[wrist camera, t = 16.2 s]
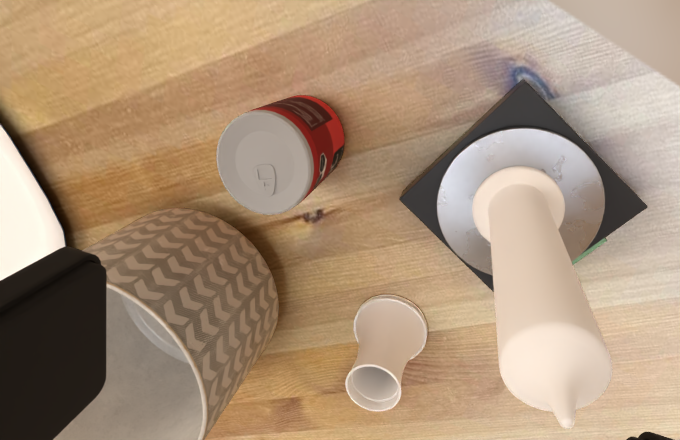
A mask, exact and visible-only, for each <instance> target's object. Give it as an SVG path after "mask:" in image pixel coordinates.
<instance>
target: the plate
mask: <svg viewBox="0 0 680 440" xmlns="http://www.w3.org/2000/svg"><path fill="white" fill-rule="evenodd" d="M63 247H67V245H66V239H65V233H64V229H63V227H62V225H61V223H60V221H59V219H58V217H57V215H56V213H55V211H54V209H53V207H52V205H51V203H50V201H49V199H48V197H47V196H46V194H45V192H44V191H43V189H42V187H41V186H40V184H39V182H38V181H37V179H36V177H35V176H34V174H33V172H32V171H31V169H30V167H29V166H28V164H27V162H26V161H25V159H24V158H23V156H22V154H21V153H20V151H19V150H18V148H17V146H16V145H15V143H14V142H13V140H12V138H11V137H10V135H9V134H8V132H7V131H6V130H5V128H4V127H3V126H2V124H1V123H0V281H1V280H3V279H4V278H6V277H8V276H10V275H12V274H14V273H16V272H17V271H19V270H21V269H23V268H25V267H27V266H28V265H30V264H32V263H34V262H36V261H38V260H40V259H41V258H43V257H45V256H47V255H49V254H51V253H53V252H54V251H56V250H58V249H60V248H63Z"/></svg>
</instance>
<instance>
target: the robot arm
mask: <svg viewBox="0 0 680 440" xmlns="http://www.w3.org/2000/svg"><path fill="white" fill-rule="evenodd" d="M106 291H107V274H106V269H105V267H104V266H102V265H101V261H100V259H99V257H98V256H96V255H94V254H91V253H88V252H85V251H82V250H79V249H75V248H72V247H63V248H60V249H58V250H56V251H54V252H53V253H51V254H49V255H47V256H45V257H43V258H41V259H40V260H38V261H36V262H34V263H32V264H30V265H28V266H27V267H25V268H23V269H21V270H19V271H17V272H16V273H14V274H12V275H10V276H8V277H6V278H4V279H3V280H1V281H0V440H53V439H54V438H55V437H56V436H57V435H58V434H59V433H60V432H61V431H62V430H63V429H64V428H65V427H66V426H67V425H68V424H69V423H70V422H71V421H73V420H74V419H75V418H76V417H77V416H78V415H79V414H80V413H81V412H82V411H83V410H84V409H85V408H86V407H87V406H88V405H89V404H90V403H91V402H92V401H93V400H94V399H95V398H96V397H97V396H98V395H99V393H100V392H101V390H102V388H103V386H104V384H105V381H106ZM627 440H673V439H670V438H667V437H664V436H661V435H658V434H654V433H651V432H644V433H642V434H641V435H640V436H639V437H638V438H636V437H629V438H628V439H627Z"/></svg>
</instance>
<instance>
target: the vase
mask: <svg viewBox="0 0 680 440" xmlns="http://www.w3.org/2000/svg"><path fill="white" fill-rule="evenodd" d="M353 329H354V334H355V338H356V340H357V342H358V343H359V350H358V355H357V359H356V361H355V364H354V366H353V367H352V369H351V371H350V372H349V374H348V375H347V378H346V390H347V393H348V395H349V396H350V398H351V399H352V400H353V401H354V402H355V403H356V404H357V405H359V406H360V407H362V408H364V409H367V410H370V411H386V410H389V409H391V408H393V407H394V406H395V405H396V404H397V403H398V401H399V400H400V397H401V380H402V374H403V371H404V368H405V365H406V363H407V362H408V360H410V359H412V358H414V357H415V356H417V355H418V354H419V353H420V352H421V351H422V349H423V348H424V346H425V343H426V339H427V331H428V328H427V322H426V319H425V317H424V315H423V313H422V312H421V310H420V309H419V308H418V307H417V306H416V305H415V304H414V303H412V302H411V301H409V300H407V299H405V298H403V297H400V296H397V295H391V294H383V295H378V296H374V297H372V298H370V299H368V300H367V301H365V302H364V303H363V304H362V305H361V307H360V308H359V310H358V312H357V314H356V316H355V319H354V325H353ZM357 336H358V337H357Z"/></svg>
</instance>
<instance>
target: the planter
mask: <svg viewBox="0 0 680 440" xmlns="http://www.w3.org/2000/svg"><path fill="white" fill-rule="evenodd" d="M82 251H85V252H88V253H91V254H94V255H96V256H98V257H99V259H100V261H101V265H102V266H104V267H105V269H106V274H107V291H106V381H105V384H104V386H103V388H102V390H101V392H100V393H99V395H98V396H97V397H96V398H95V399H94V400H93V401H92V402H91V403H90V404H89V405H88V406H87V407H86V408H85V409H84V410H83V411H82V412H81V413H80V414H79V415H78V416H77V417H76V418H75V419H74V420H73V421H71V422H70V423H69V424H68V425H67V426H66V427H65V428H64V429H63V430H62V431H61V432H60V433H59V434H58V435H57V436H56V437H55V438H54V439H53V440H204V439H205V438H206V436H207V435H208V433H209V432H210V430H211V429H212V427H213V426H214V424H215V423H216V421H217V420H218V418H219V417H220V415H221V414H222V412H223V411H224V409H225V408H226V406H227V405H228V403H229V402H230V400H231V399H232V397H233V396H234V394H235V393H236V391H237V390H238V388H239V387H240V385H241V384H242V382H243V381H244V379H245V378H246V376H247V375H248V373H249V372H250V370H251V369H252V367H253V366H254V364H255V363H256V361H257V360H258V358H259V357H260V355H261V354H262V352H263V351H264V349H265V348H266V346H267V345H268V343H269V342H270V340H271V338H272V336H273V334H274V332H275V329H276V325H277V321H278V314H279V303H278V294H277V289H276V285H275V282H274V279H273V276H272V274H271V272H270V269H269V267H268V265H267V264H266V262H265V260H264V259H263V257H262V256H261V254H260V253H259V251H258V250H257V249H256V248H255V246H254V245H253V244H252V243H251V242H250V241H249V240H248V239H247V238H246V237H245V236H244V235H243V234H242V233H240V232H239V231H238V230H237V229H235V228H234V227H233V226H231V225H230V224H228V223H227V222H225V221H223V220H221V219H219V218H217V217H215V216H213V215H211V214H208V213H205V212H202V211H198V210H193V209H187V208H169V209H162V210H158V211H155V212H152V213H150V214H147V215H145V216H144V217H142V218H140V219H138V220H136V221H135V222H133V223H131V224H129V225H127V226H126V227H124V228H122V229H120V230H118V231H116V232H115V233H113V234H111V235H109V236H107V237H106V238H104V239H102V240H100V241H98V242H96V243H95V244H93V245H91V246H89V247H87V248H86V249H84V250H82Z"/></svg>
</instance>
